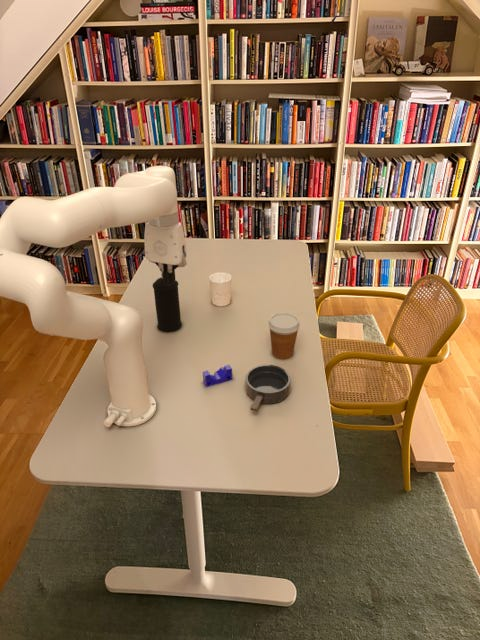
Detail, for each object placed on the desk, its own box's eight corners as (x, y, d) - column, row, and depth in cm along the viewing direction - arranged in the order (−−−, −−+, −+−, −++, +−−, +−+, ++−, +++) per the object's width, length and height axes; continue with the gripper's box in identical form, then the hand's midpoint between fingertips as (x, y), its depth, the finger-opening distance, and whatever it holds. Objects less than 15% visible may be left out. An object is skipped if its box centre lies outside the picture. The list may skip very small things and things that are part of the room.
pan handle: (256, 411, 122) (256, 409, 122) (250, 410, 123) (250, 407, 122) (264, 396, 127) (264, 393, 127) (258, 394, 128) (258, 392, 127)
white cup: (231, 307, 172) (231, 282, 166) (209, 307, 172) (208, 282, 167) (232, 296, 178) (231, 272, 173) (211, 296, 179) (210, 272, 173)
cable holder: (227, 372, 140) (227, 361, 138) (232, 379, 137) (231, 368, 135) (201, 379, 137) (200, 368, 135) (205, 387, 135) (205, 375, 132)
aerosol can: (177, 333, 157) (172, 279, 147) (153, 331, 159) (147, 277, 148) (185, 320, 164) (180, 267, 154) (162, 318, 166) (156, 265, 155)
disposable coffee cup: (260, 353, 148) (261, 320, 141) (280, 341, 154) (281, 308, 147) (285, 366, 142) (286, 332, 136) (304, 352, 148) (307, 319, 142)
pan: (282, 409, 127) (283, 397, 124) (239, 398, 130) (239, 386, 128) (294, 381, 136) (295, 370, 134) (254, 372, 140) (254, 360, 138)
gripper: (129, 219, 119) (138, 285, 129) (183, 227, 114) (188, 294, 124) (144, 210, 125) (152, 273, 135) (196, 216, 120) (200, 282, 130)
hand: (169, 283), depth 129 cm, fingers closed
